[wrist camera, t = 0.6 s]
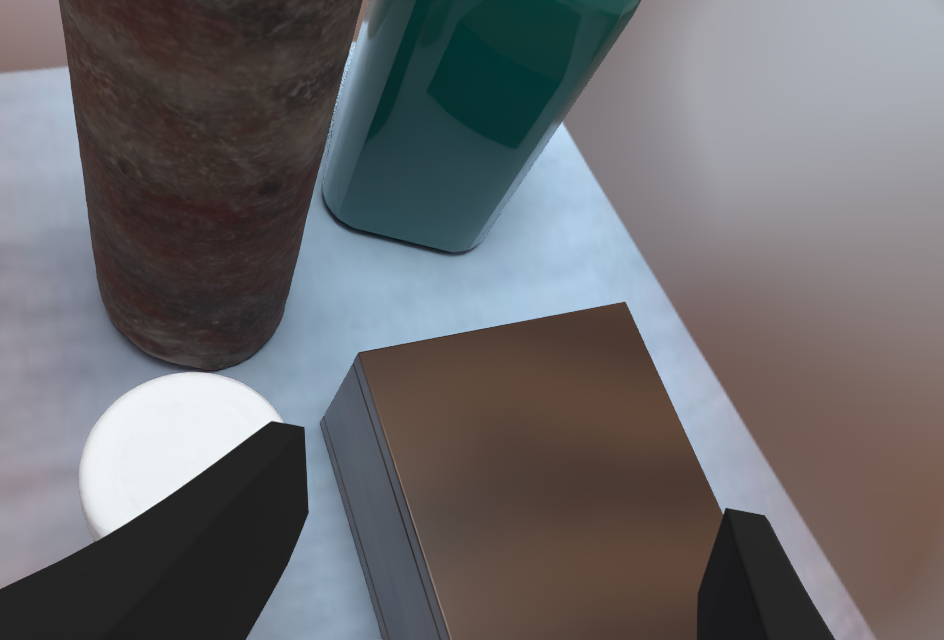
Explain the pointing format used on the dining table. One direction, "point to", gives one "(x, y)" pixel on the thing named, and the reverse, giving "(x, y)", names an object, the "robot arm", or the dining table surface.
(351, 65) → the pitcher
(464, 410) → the cabinet
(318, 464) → the dining table surface
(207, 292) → the candle
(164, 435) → the sprinkles bottle
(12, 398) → the dining table surface
